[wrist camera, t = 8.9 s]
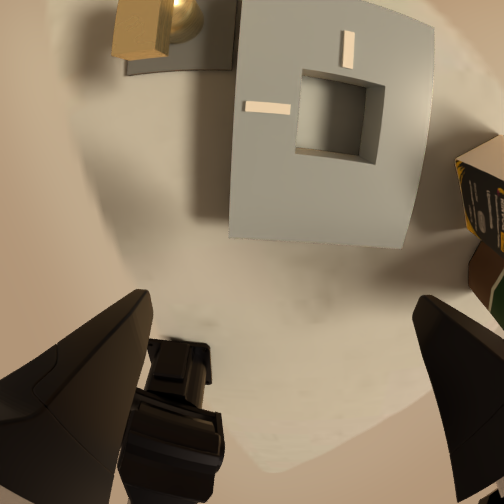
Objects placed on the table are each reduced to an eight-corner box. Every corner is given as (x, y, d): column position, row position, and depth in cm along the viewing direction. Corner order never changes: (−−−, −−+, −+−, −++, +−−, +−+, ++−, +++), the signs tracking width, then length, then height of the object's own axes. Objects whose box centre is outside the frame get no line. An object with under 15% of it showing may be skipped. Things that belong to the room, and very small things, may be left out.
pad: (231, 69, 15) (231, 69, 15) (129, 75, 15) (126, 75, 15) (239, -18, 12) (238, -20, 12) (138, -9, 12) (136, -11, 11)
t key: (209, -20, 12) (189, -72, 5) (200, 69, 15) (169, 47, 9) (162, -15, 11) (122, -60, 5) (152, 71, 15) (99, 58, 8)
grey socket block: (385, 231, 21) (402, 250, 18) (231, 219, 20) (228, 239, 18) (412, 34, 13) (435, 27, 10) (245, -1, 13) (243, -19, 10)
